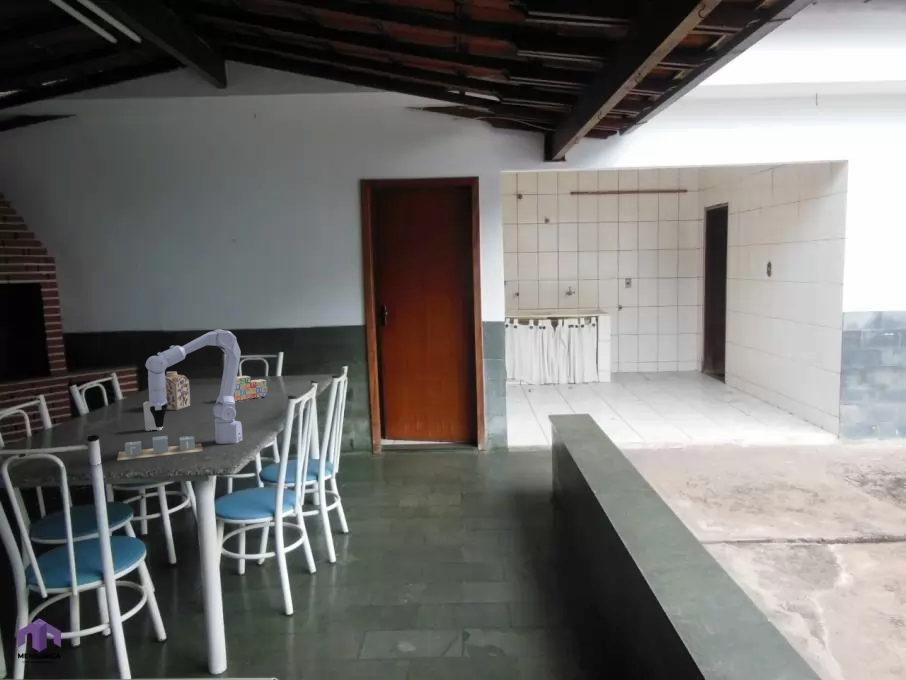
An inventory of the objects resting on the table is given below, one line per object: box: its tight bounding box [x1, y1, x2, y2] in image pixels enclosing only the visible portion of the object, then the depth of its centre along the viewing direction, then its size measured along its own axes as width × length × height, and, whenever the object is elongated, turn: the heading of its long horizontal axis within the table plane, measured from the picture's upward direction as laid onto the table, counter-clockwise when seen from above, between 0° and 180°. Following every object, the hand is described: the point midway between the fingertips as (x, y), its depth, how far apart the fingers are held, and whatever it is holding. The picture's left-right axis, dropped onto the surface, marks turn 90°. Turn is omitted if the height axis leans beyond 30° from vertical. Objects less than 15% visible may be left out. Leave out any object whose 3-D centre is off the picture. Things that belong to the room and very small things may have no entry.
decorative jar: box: [165, 371, 191, 411], centre depth 323 cm, size 12×12×18 cm
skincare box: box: [142, 401, 164, 432], centre depth 276 cm, size 6×4×12 cm
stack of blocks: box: [234, 375, 268, 401], centre depth 343 cm, size 21×6×12 cm, turn 133°
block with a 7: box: [124, 440, 142, 457], centre depth 235 cm, size 5×5×4 cm
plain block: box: [152, 435, 169, 454], centre depth 239 cm, size 5×5×5 cm
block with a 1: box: [179, 435, 196, 451], centre depth 242 cm, size 5×5×4 cm
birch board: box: [116, 443, 203, 461], centre depth 239 cm, size 28×12×1 cm, turn 114°
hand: (159, 426), depth 238 cm, fingers open, 3 cm apart
